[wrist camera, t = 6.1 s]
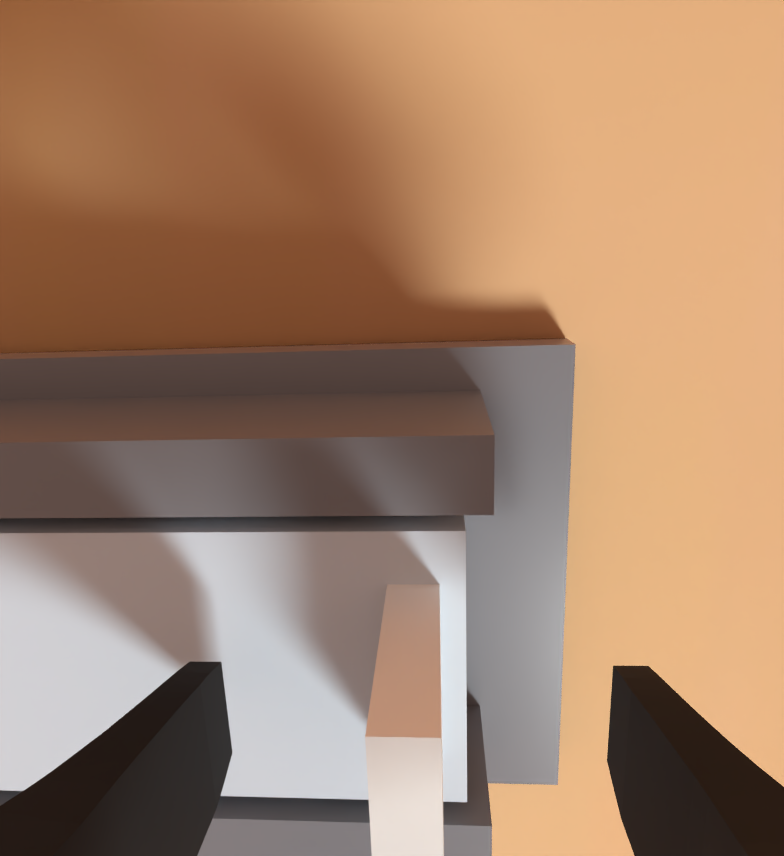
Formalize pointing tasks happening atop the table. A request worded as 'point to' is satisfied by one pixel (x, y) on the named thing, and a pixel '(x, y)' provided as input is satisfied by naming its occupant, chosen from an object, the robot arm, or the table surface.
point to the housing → (335, 508)
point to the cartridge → (251, 651)
